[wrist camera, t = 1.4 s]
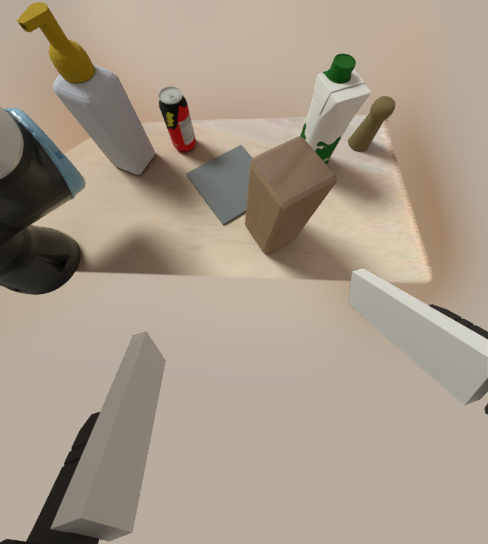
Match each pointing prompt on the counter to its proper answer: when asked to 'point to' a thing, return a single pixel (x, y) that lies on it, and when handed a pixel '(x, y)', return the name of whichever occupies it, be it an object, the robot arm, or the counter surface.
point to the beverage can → (177, 118)
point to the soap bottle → (92, 96)
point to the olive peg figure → (371, 123)
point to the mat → (224, 183)
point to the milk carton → (333, 105)
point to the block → (285, 192)
